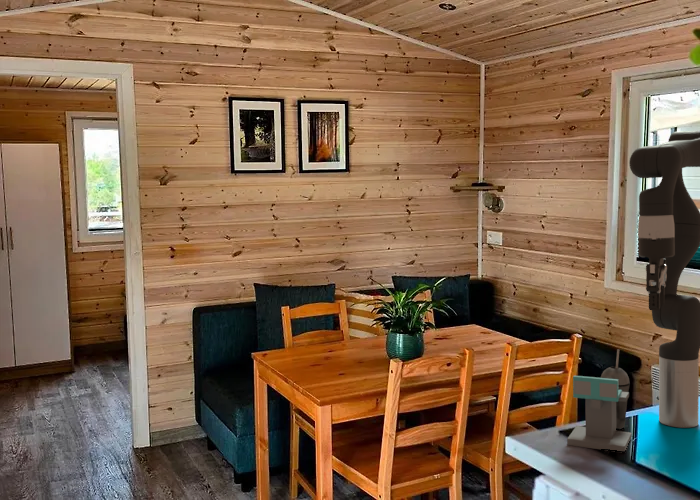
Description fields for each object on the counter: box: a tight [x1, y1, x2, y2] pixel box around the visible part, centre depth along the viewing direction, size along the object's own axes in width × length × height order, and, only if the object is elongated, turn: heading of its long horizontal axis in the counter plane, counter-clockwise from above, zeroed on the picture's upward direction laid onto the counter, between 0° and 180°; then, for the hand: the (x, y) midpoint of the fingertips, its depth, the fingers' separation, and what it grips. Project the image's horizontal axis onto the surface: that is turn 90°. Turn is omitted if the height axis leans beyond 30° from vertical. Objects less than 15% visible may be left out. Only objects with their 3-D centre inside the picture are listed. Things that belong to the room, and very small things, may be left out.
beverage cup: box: [600, 348, 631, 428], centre depth 181 cm, size 7×7×20 cm
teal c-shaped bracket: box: [572, 375, 622, 402], centre depth 170 cm, size 7×10×5 cm
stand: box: [566, 391, 633, 451], centre depth 171 cm, size 10×13×12 cm
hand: (656, 307), depth 161 cm, fingers open, 8 cm apart
